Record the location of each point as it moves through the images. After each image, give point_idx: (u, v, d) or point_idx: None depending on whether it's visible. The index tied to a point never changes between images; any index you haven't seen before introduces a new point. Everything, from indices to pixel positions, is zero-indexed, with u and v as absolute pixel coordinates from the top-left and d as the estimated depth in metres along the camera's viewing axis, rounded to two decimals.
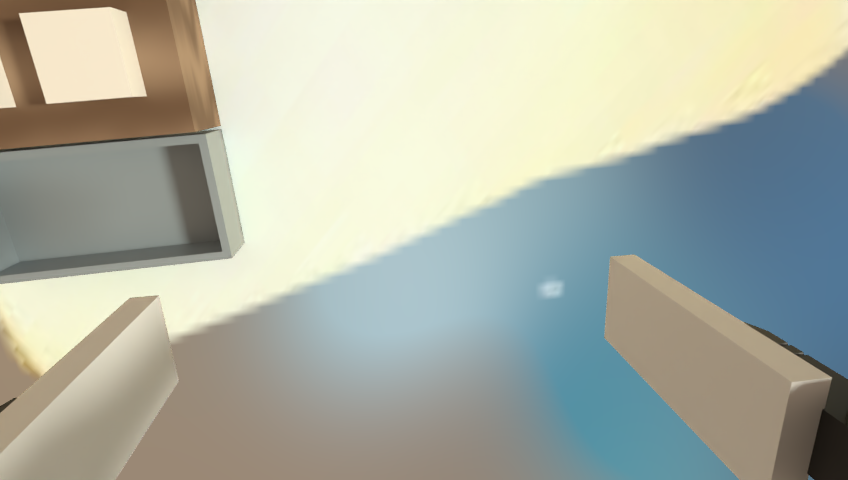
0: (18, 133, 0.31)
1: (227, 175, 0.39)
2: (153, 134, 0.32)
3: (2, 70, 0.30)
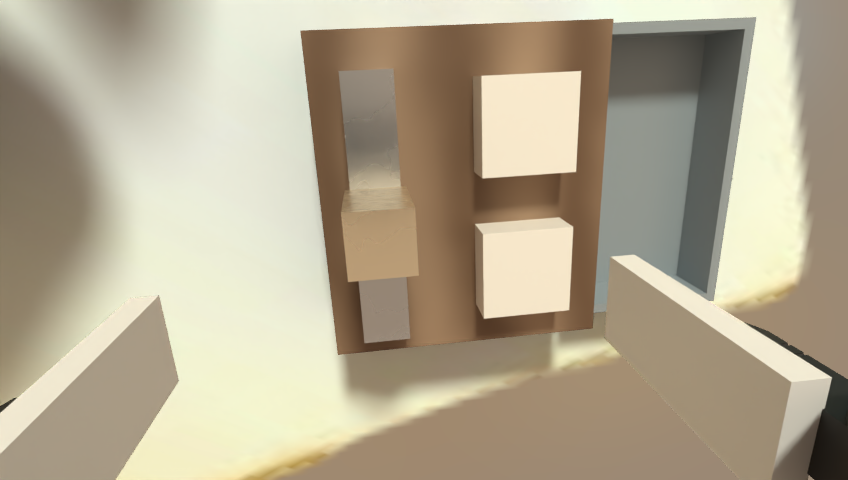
0: (585, 221, 0.29)
1: None
2: (608, 73, 0.26)
3: (523, 221, 0.28)
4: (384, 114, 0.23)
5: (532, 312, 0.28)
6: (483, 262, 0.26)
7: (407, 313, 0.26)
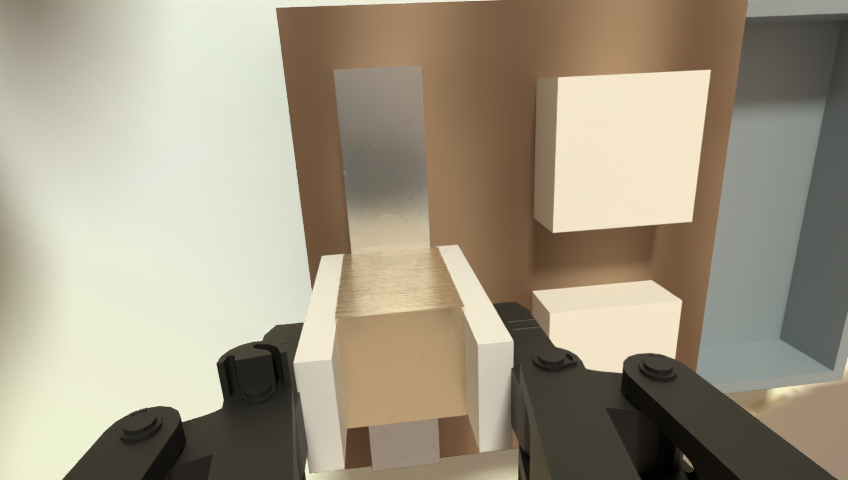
0: (688, 285, 0.20)
1: None
2: (736, 73, 0.18)
3: (601, 286, 0.19)
4: (406, 139, 0.14)
5: None
6: None
7: (436, 429, 0.18)
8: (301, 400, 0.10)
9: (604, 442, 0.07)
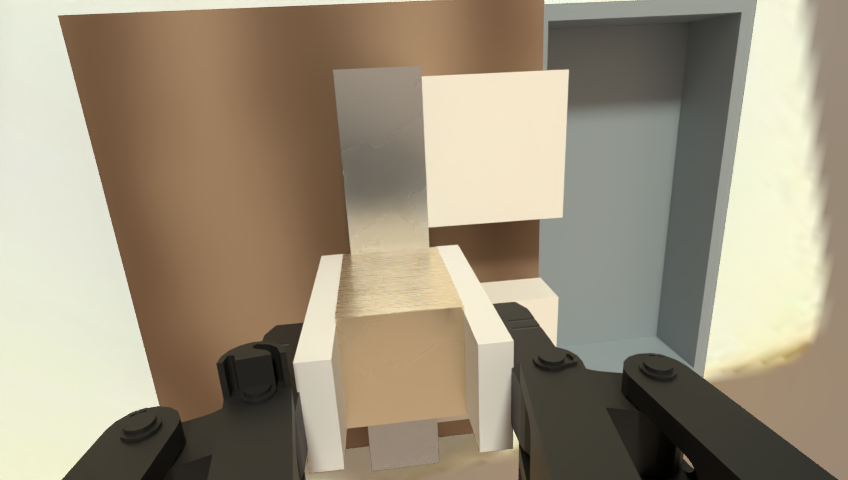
0: None
1: None
2: None
3: (489, 283, 0.20)
4: (405, 139, 0.14)
5: None
6: None
7: (435, 428, 0.18)
8: (301, 400, 0.10)
9: (604, 442, 0.07)
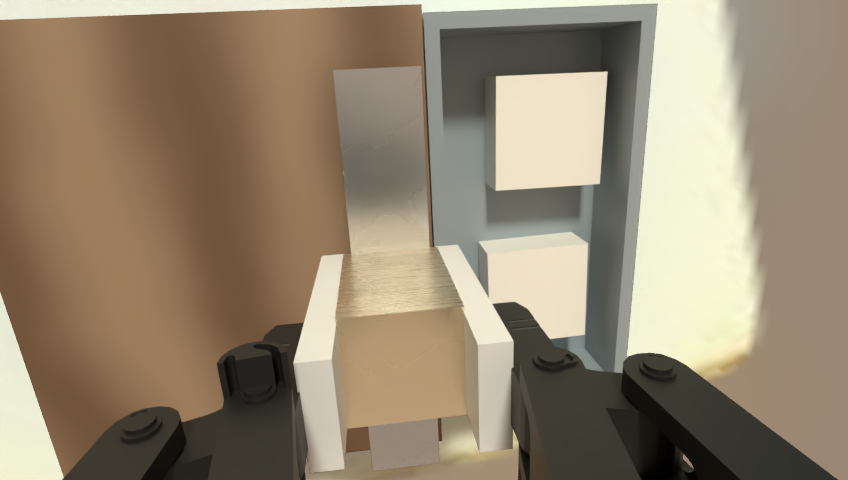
0: None
1: None
2: (423, 86, 0.17)
3: (531, 248, 0.24)
4: (405, 139, 0.15)
5: None
6: None
7: (436, 428, 0.18)
8: (301, 400, 0.10)
9: (604, 442, 0.07)
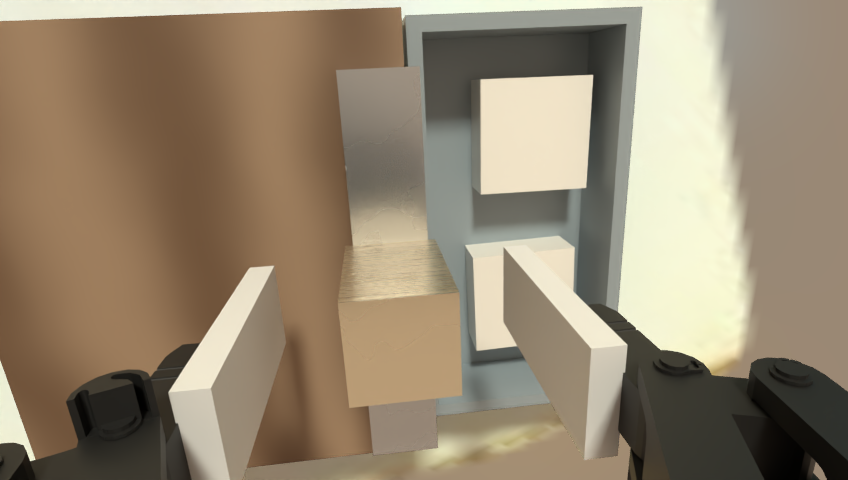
0: None
1: None
2: None
3: None
4: (405, 136, 0.15)
5: None
6: None
7: (434, 414, 0.18)
8: (182, 431, 0.09)
9: (731, 454, 0.07)
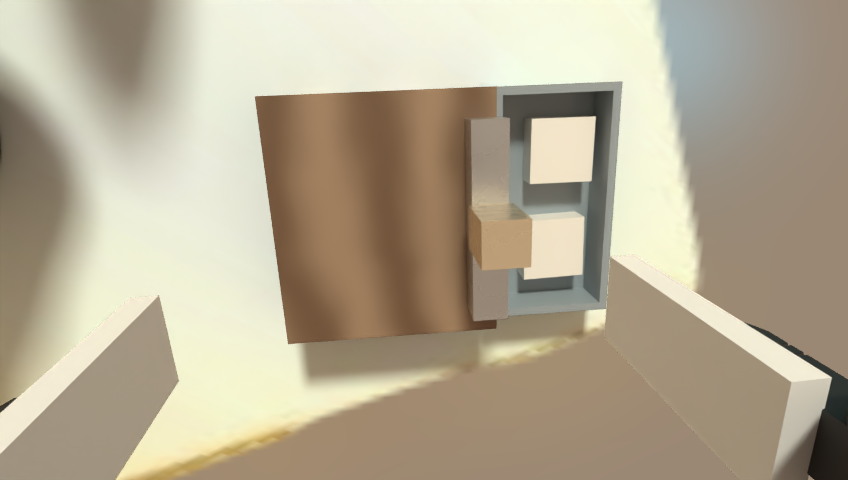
0: None
1: None
2: None
3: (550, 219, 0.40)
4: (501, 151, 0.32)
5: None
6: None
7: (507, 298, 0.35)
8: None
9: None
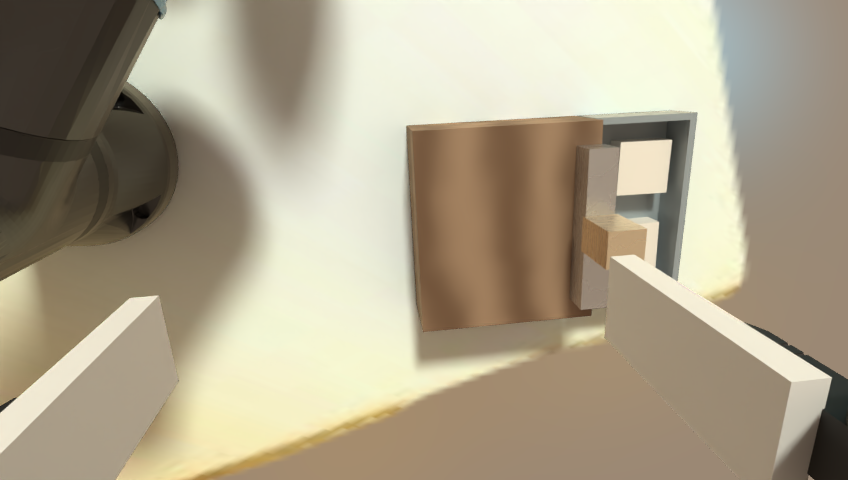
0: None
1: (617, 114, 0.46)
2: None
3: None
4: (611, 173, 0.39)
5: None
6: None
7: None
8: None
9: None
